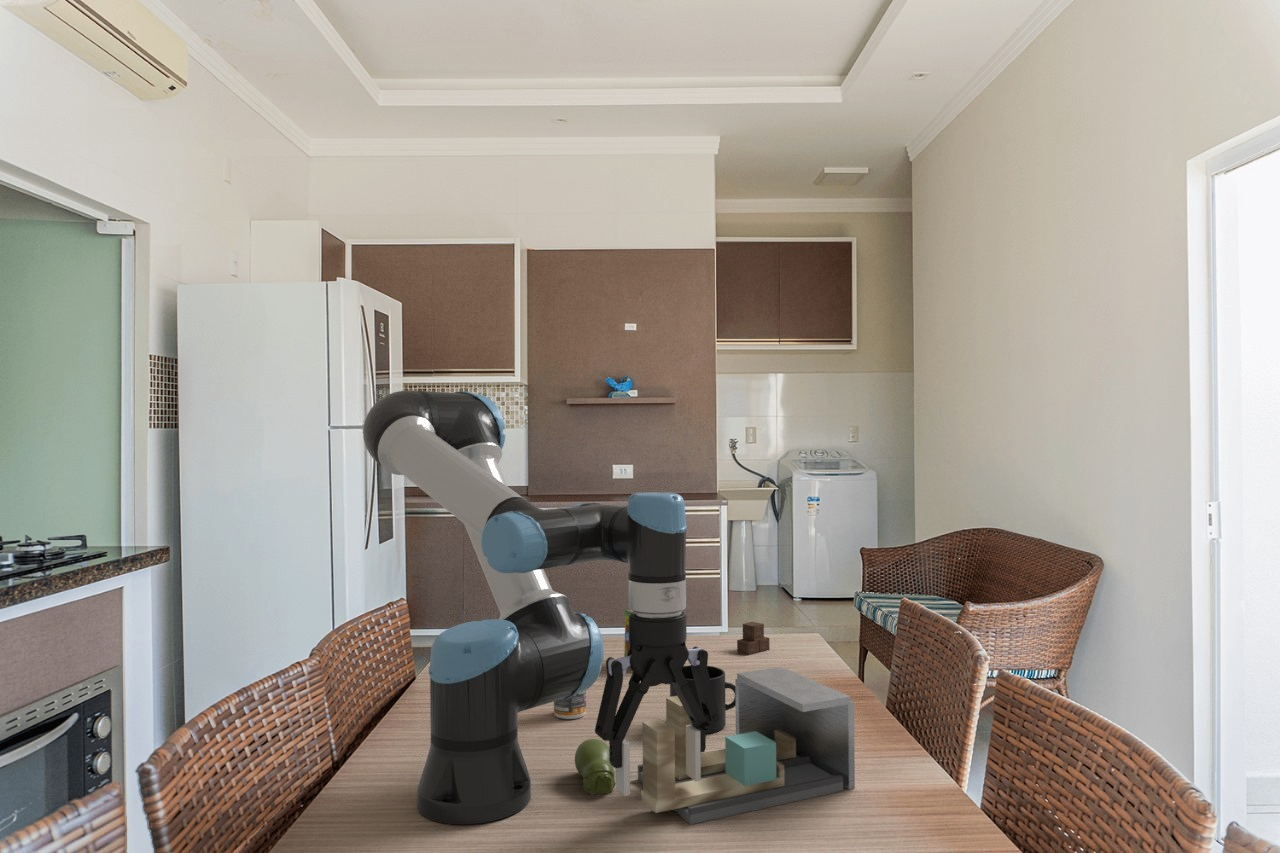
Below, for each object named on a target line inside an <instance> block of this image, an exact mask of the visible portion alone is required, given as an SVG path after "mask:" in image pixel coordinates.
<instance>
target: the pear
mask: <svg viewBox="0 0 1280 853" xmlns="http://www.w3.org/2000/svg"><path fill="white" fill-rule="evenodd" d="M609 754H610V753H609V745H608V744H607V742H606V741H604V740H602V739H599V738H589V739H585V740H584V741H582V742H581V743H580V744H579V746H578V747H577V749H576V751H575V754H574V765H575V768H576V771H577V772H578V773H579V775H581V777H582V779H583V784H582V786H583V789H584V791H585V792H586V793H587V794H588V795H600V794H601V795H603V794H609V793H612V792H613V790H614V789H615V788H616V778H615V771H614V767H613V766H612V765H611V763H610V761H609V757H610V756H609Z"/></svg>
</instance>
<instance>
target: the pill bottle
mask: <svg viewBox="0 0 1280 853" xmlns="http://www.w3.org/2000/svg"><path fill="white" fill-rule="evenodd" d="M586 713H587V690H585V691H583V692H580V693H578V694H575V695H573V696H572V697H571V698H568V699H560V700H557V701H554V702H553V715H554V717H556V718H559V719H562V720H574V719H575V720H576V719H579V718H582V717H584V716H585V715H586Z"/></svg>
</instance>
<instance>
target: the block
mask: <svg viewBox="0 0 1280 853" xmlns="http://www.w3.org/2000/svg"><path fill="white" fill-rule="evenodd" d="M724 739H725V744H724V745H725V746H724V747H725V748H724V749H725V761H726V774H728V775H729V776H731V777H732V778H734V779H735V780H736V781H738V782H739V783H741V784H742V785H744V786H748V785H753V784H758V783H763V782H768V781H772V780H776V742H774V741H772V740H771V739H769V738H767V737H765V736H764V735H762V734H760V733H758V732H757V731H754V732H749V733H743V734H737V735H736V734H733V735H732V734H731V735H727V736H725V737H724Z"/></svg>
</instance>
